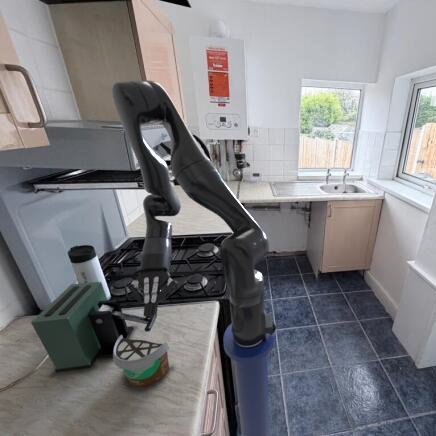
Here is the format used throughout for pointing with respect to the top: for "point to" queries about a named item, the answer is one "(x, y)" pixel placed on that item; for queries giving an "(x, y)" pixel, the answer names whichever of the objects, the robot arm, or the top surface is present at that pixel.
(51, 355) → the toaster body
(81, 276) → the travel mug
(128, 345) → the food container
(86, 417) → the top surface
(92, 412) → the top surface
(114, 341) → the bracket
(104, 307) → the lever
